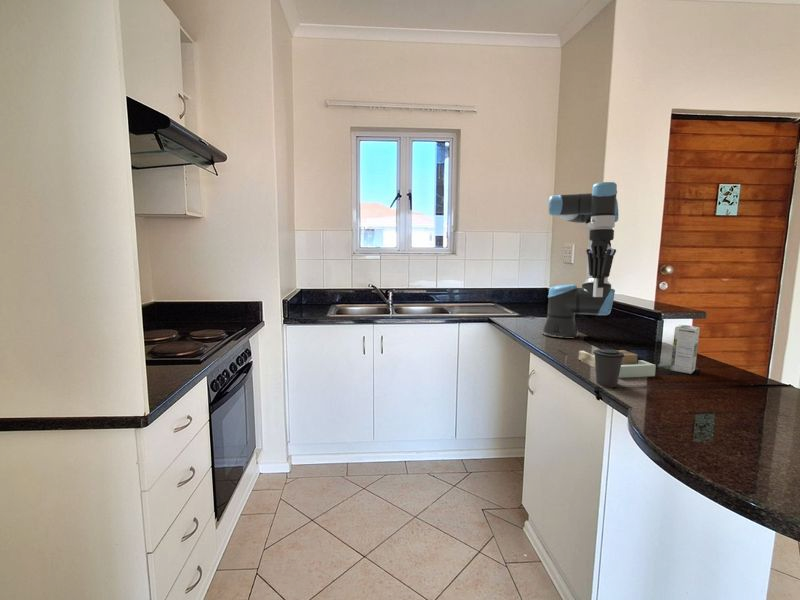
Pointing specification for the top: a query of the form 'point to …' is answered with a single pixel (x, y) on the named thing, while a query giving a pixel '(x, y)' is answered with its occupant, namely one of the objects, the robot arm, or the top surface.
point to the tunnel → (587, 358)
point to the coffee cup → (607, 366)
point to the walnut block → (628, 358)
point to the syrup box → (685, 349)
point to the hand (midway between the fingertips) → (597, 296)
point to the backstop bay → (637, 370)
